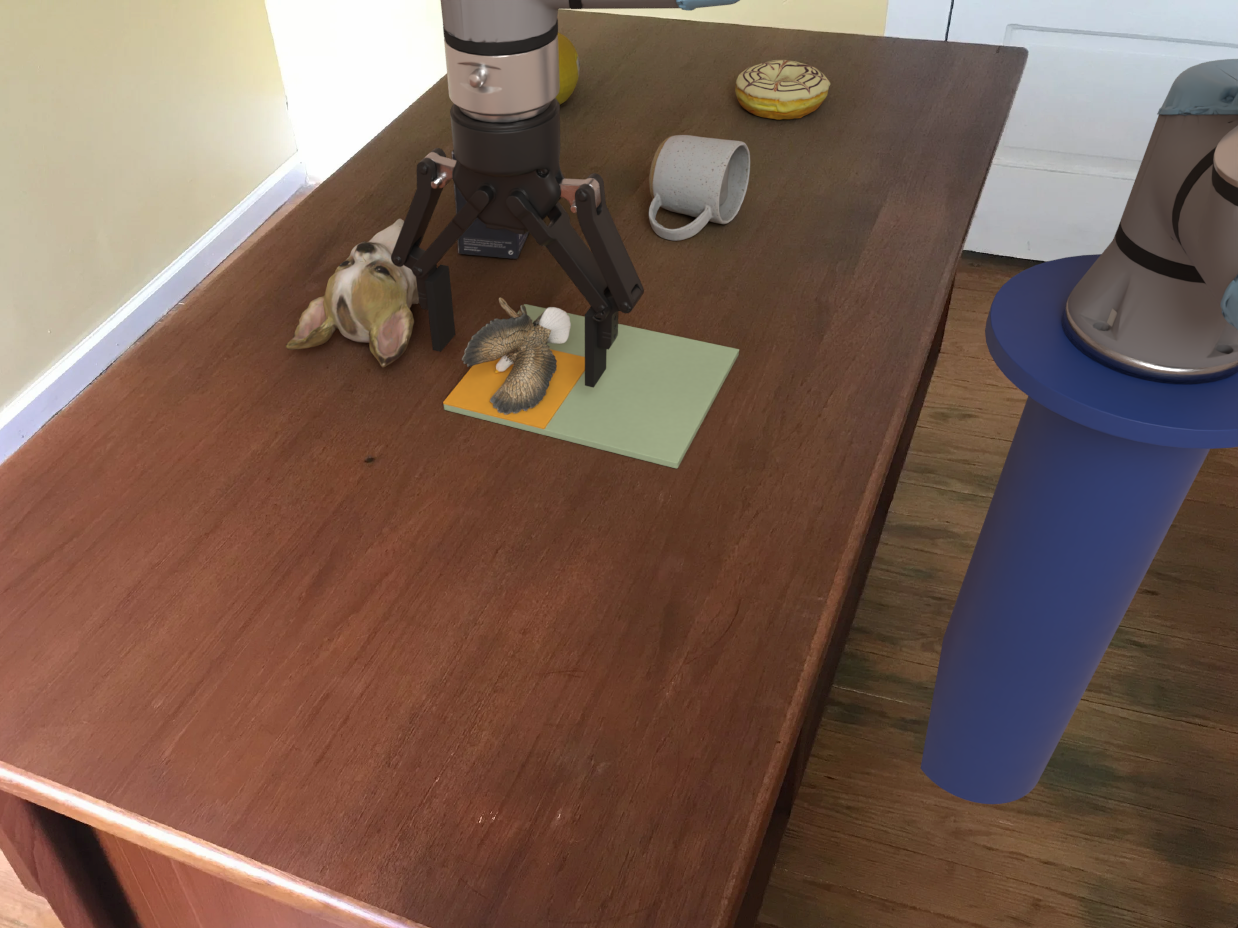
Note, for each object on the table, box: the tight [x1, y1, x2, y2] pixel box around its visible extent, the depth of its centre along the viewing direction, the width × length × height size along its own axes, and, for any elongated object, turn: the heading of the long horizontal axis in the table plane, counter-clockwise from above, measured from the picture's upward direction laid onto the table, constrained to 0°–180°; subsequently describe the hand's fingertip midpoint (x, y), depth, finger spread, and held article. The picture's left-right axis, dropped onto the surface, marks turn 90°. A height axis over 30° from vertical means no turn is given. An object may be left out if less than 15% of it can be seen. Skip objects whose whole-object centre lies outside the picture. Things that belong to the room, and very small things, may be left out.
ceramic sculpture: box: [285, 218, 419, 368], centre depth 96 cm, size 11×9×15 cm
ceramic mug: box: [648, 134, 751, 242], centre depth 108 cm, size 11×8×8 cm
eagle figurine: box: [461, 297, 571, 415], centre depth 89 cm, size 8×7×9 cm
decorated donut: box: [734, 59, 831, 121], centre depth 127 cm, size 10×11×4 cm
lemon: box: [555, 32, 581, 105], centre depth 129 cm, size 11×8×8 cm
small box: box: [451, 150, 530, 260], centre depth 107 cm, size 11×6×10 cm, turn 167°
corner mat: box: [442, 303, 740, 470], centre depth 91 cm, size 20×16×1 cm
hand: (518, 359), depth 90 cm, fingers open, 13 cm apart
